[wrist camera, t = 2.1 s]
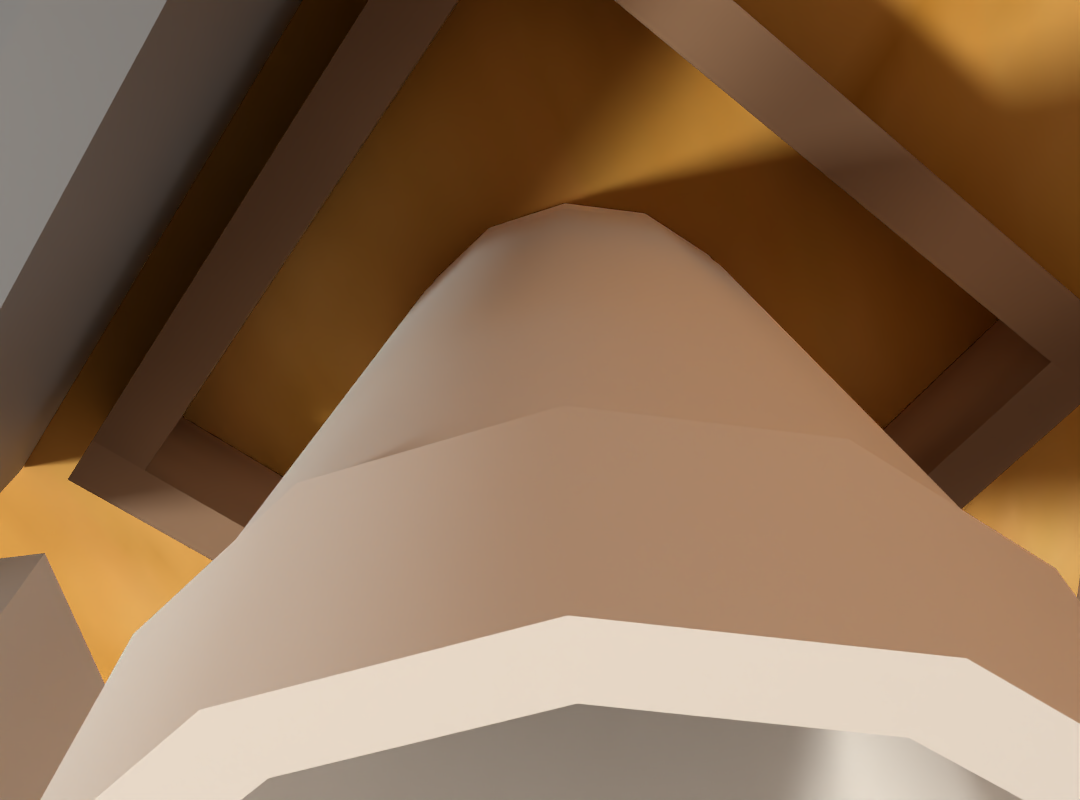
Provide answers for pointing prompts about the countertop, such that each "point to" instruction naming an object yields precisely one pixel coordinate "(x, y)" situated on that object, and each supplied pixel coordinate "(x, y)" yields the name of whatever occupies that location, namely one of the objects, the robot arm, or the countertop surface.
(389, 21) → the walnut collar
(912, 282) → the countertop surface
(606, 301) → the foam cup
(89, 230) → the charcoal stand
